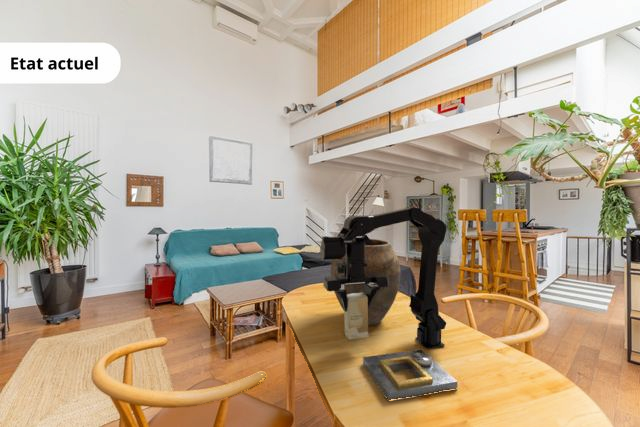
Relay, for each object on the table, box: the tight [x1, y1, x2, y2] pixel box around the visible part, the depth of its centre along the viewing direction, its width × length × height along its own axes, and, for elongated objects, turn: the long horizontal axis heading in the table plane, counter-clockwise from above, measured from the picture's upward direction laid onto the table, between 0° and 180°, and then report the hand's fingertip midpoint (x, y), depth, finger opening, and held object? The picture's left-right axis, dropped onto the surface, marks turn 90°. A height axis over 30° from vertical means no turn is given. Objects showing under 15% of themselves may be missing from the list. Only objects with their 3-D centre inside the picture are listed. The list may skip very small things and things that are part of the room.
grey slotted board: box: [362, 348, 458, 400], centre depth 72 cm, size 18×15×3 cm
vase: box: [330, 238, 402, 326], centre depth 106 cm, size 26×26×30 cm
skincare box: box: [343, 293, 369, 340], centre depth 83 cm, size 6×4×12 cm
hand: (355, 310), depth 83 cm, fingers closed on skincare box, 6 cm apart
